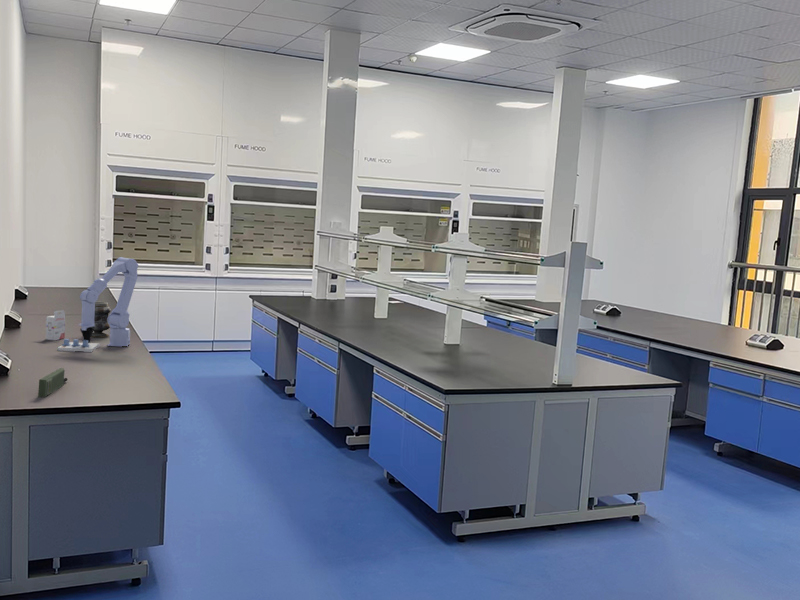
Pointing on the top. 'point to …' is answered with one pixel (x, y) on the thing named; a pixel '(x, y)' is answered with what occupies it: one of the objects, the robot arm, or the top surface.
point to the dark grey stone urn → (101, 319)
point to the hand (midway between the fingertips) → (86, 343)
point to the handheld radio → (51, 382)
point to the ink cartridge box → (55, 326)
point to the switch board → (79, 347)
